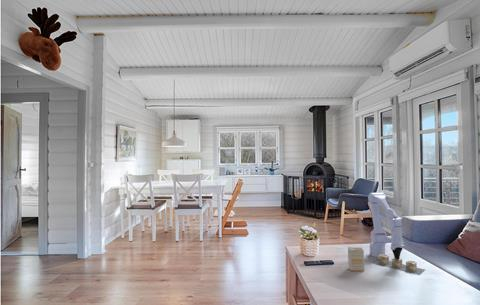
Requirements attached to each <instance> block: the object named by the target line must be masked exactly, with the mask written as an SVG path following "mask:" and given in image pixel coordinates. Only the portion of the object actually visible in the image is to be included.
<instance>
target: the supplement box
mask: <svg viewBox="0 0 480 305" xmlns="http://www.w3.org/2000/svg"><path fill="white" fill-rule="evenodd" d="M364 252H365V250H364V249H363V248H362V247H351V246H350V247H347V257H348V264H347V265H348V270H349V271H350V272H365V256H364Z"/></svg>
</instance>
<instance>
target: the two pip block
mask: <svg viewBox="0 0 480 305" xmlns="http://www.w3.org/2000/svg"><path fill="white" fill-rule="evenodd" d="M378 258H379V263H382V264H388V263H389V261H390V259H389V258H390V256H389V255H386V254H385V255H383V254H381V255H379V257H378Z"/></svg>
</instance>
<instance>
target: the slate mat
mask: <svg viewBox="0 0 480 305" xmlns="http://www.w3.org/2000/svg"><path fill="white" fill-rule="evenodd" d="M370 264H375V265H379V266H381V267H385V268H389V269H392V270H398V271H401V272H406V273H408V274H413V275H417V276H421V274H423V273H424V272H425V271H426V269H425V268H421V267H417V270H416V271H410V270H406V264H404V263H402V267H400V268H398V267H394V266H392V260H389V263H388V264H382V263H379V257H377V258H376V259H374V260H372V261H371V262H370Z"/></svg>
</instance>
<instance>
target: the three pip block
mask: <svg viewBox="0 0 480 305" xmlns="http://www.w3.org/2000/svg"><path fill="white" fill-rule="evenodd" d="M405 265H406V270H410V271H416V270H417V268H418V266H417V261H413V260H409V259H408V260H407V261H406V262H405Z"/></svg>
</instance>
